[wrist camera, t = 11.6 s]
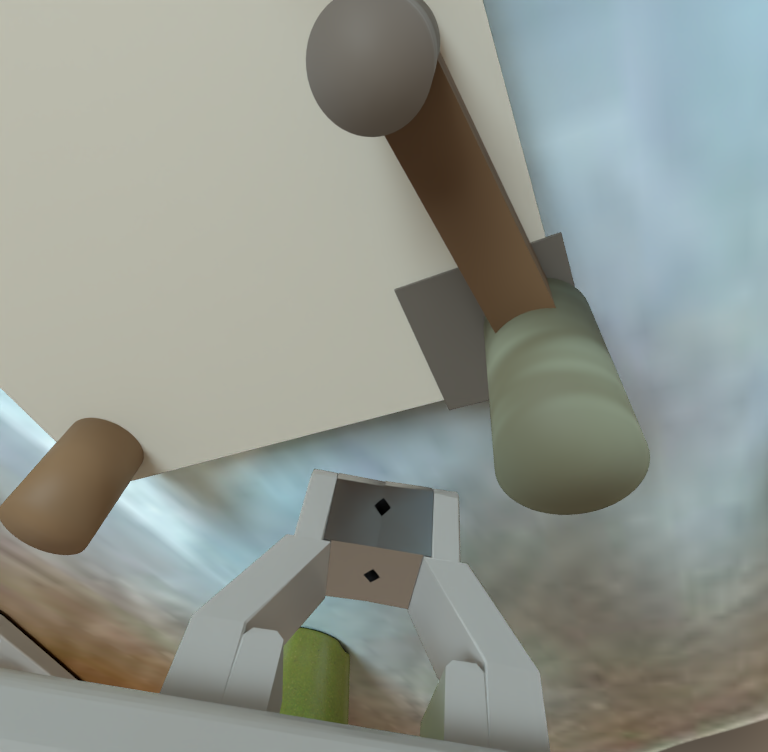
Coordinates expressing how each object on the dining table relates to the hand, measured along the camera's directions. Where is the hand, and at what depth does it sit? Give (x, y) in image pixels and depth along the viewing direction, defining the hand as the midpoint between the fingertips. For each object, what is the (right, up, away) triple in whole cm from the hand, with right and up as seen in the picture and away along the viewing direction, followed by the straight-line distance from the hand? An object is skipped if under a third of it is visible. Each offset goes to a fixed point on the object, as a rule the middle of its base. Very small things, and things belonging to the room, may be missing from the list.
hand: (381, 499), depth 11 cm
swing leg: (+3, +7, +2) cm, 8 cm away
